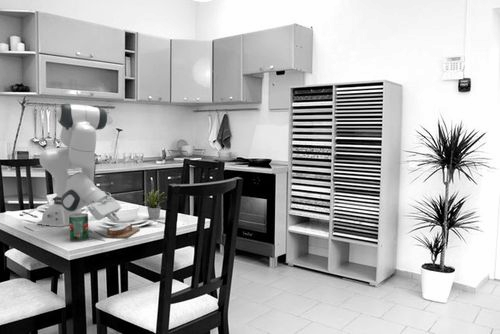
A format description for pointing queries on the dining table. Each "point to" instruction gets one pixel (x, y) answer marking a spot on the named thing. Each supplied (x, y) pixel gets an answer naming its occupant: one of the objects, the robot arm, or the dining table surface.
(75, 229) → the canned tomato
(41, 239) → the dining table surface
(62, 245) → the dining table surface
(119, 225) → the brown rounded block
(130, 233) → the walnut board
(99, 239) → the dining table surface
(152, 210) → the house plant
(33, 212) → the dining table surface
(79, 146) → the robot arm
